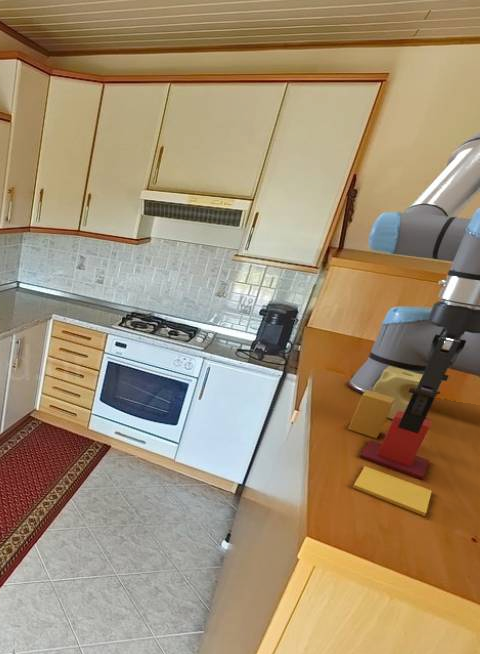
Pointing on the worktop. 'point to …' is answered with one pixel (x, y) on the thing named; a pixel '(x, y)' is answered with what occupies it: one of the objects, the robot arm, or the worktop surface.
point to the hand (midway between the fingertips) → (412, 420)
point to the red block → (402, 441)
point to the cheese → (397, 387)
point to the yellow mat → (393, 490)
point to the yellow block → (371, 413)
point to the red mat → (414, 470)
